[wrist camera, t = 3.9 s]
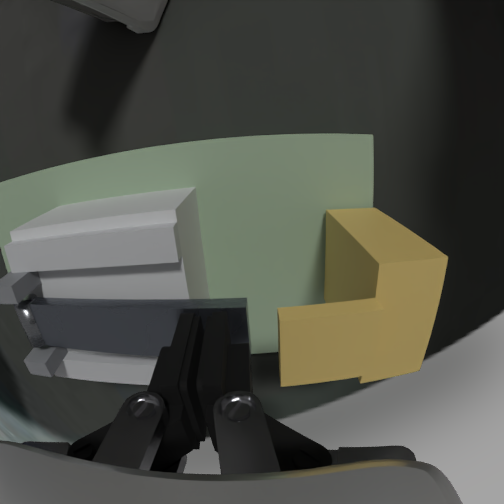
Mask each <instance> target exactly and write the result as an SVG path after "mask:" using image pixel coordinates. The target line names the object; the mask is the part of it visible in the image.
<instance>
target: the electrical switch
mask: <svg viewBox="0 0 504 504" xmlns="http://www.w3.org/2000/svg"><path fill="white" fill-rule="evenodd" d="M51 1H54V2H57V3H59V4H62V5H65V6H68V7H70V8H73V9H75V10H78V11H81V12H83V13H86V14H88V15H90V16H93V17H95V18H98V19H100V20H102V21H105V22H115V21H116V22H122V23H124V24H126V25H127V28H128V29H130V30H132V31H134V32H136V33H148V32H152V31H154V30H155V29H156V27H157V26H158V23H159V21H160V18H161V16H162V13H163V11H164V8H165V6H166V4H167V1H168V0H51Z"/></svg>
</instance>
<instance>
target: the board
mask: <svg viewBox="0 0 504 504" xmlns="http://www.w3.org/2000/svg"><path fill="white" fill-rule="evenodd" d="M373 177H374V159H373V135H367V134H283V135H262V136H246V137H233V138H221V139H211V140H201V141H192V142H184V143H176V144H169V145H162V146H155V147H149V148H143V149H137V150H131V151H125V152H120V153H114V154H109V155H104V156H99V157H95V158H90V159H85V160H81V161H77V162H72V163H68V164H64V165H60V166H56V167H52V168H48V169H45V170H41V171H37V172H34V173H30V174H27V175H23V176H20V177H17V178H13V179H10V180H7V181H4V182H1V183H0V247H1V251H2V254H3V258H4V261H5V265H6V268H7V271H8V274H7V275H5V276H4V277H3V278H1V279H0V304H19V303H20V302H21V301H22V300H23V299H24V298H25V297H26V296H27V295H28V294H36V296H37V297H45V298H74V299H218V298H247V302H248V314H249V325H250V336H251V354H257V353H271V352H278V316H277V308H281V307H293V306H304V305H315V304H325V303H326V302H325V300H324V283H325V248H326V210H332V209H355V208H373ZM157 359H158V357H157V356H141V355H127V354H115V353H105V352H95V351H86V350H78V349H70V348H63V347H56V346H49V345H45V346H42V347H39V348H35V347H34V348H33V349H32V351H31V352H30V353H29V354H28V356H27V357H26V358H25V360H24V362H25V364H26V366H27V367H28V369H29V371H30V373H31V374H36V375H41V376H47V377H52V376H53V375H54V373H55V375H56V376H59V377H66V378H74V379H82V380H91V381H100V382H111V383H124V384H140V385H149V384H150V381H151V378H152V374H153V371H154V368H155V365H156V362H157Z"/></svg>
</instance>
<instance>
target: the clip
mask: <svg viewBox="0 0 504 504" xmlns="http://www.w3.org/2000/svg"><path fill="white" fill-rule="evenodd" d="M447 261H448V257H447V256H446V255H445V254H443V253H442V252H441V251H439V250H438V249H436V248H435V247H434V246H432V245H431V244H429V243H428V242H426V241H425V240H424V239H422V238H421V237H419V236H418V235H416V234H415V233H413V232H412V231H410V230H409V229H407V228H406V227H404V226H403V225H401V224H400V223H398V222H397V221H395V220H394V219H392V218H390V217H389V216H387V215H386V214H384V213H383V212H381V211H379V210H378V209H376V208H355V209H332V210H326V248H325V283H324V300H325V302H326V303H325V304H315V305H304V306H293V307H281V308H277V316H278V352H279V376H280V384H281V387H284V386H294V385H303V384H312V383H320V382H327V381H334V380H341V379H347V378H354V377H358V379H359V381H360V383H365V382H370V381H375V380H380V379H385V378H390V377H394V376H399V375H403V374H408V373H411V372H416V371H419V370H420V368H421V365H422V362H423V359H424V355H425V352H426V349H427V346H428V342H429V339H430V336H431V332H432V328H433V325H434V321H435V317H436V313H437V309H438V305H439V301H440V296H441V292H442V287H443V282H444V277H445V272H446V267H447Z"/></svg>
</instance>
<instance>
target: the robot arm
mask: <svg viewBox="0 0 504 504" xmlns="http://www.w3.org/2000/svg"><path fill="white" fill-rule="evenodd" d="M206 426H207V427H208V430H209V434H210V437H211V440H212V443H213V446H214V449H215V451H216V452H218V454H219V461H220V469H221V475H217V474H216V475H215V474H214V475H213V474H212V475H211V474H184V473H183V471H184V468H185V464H186V460H187V456H186V454H188V453H189V452H191V451H192V450H193V449H199V446H200V441H205V437H206ZM0 504H462V502H461V500H460V498H459V496H458V494H457V493H456V491H455V489H454V487H453V486H452V484H451V483H450V481H449V480H448V478H447V477H446V476H445V475H444V474H443V473H442V472H441V471H440V470H439V469H438V468H436V467H435V466H433V465H431V464H427V463H424V462H419V461H416V458H415V455H414V453H413V452H412V451H411V450H410V449H408V448H406V447H404V446H381V447H339V449H338V450H327V449H326V448H325V447H323V446H322V445H320V444H318V443H316V442H314V441H313V440H311V439H309V438H307V437H305V436H303V435H301V434H300V433H298V432H296V431H294V430H292V429H291V428H289V427H287V426H285V425H284V424H282V423H280V422H279V421H277V420H275V419H273V418H272V417H270V416H268V415H267V414H265V413H264V411H263V408H262V404H261V402H260V400H259V398H258V397H256V396H255V395H254V394H253V389H252V370H251V358H250V348H249V343H239V344H231V337H230V330H229V322H228V315H227V311H218V312H213V313H212V316H207V321H206V326H205V332H204V330H203V324H202V319H201V316H196V314H195V313H182V314H180V317H179V320H178V323H177V326H176V330H175V333H174V336H173V339H172V343H171V346H163V347H162V348H161V350H160V353H159V356H158V359H157V362H156V365H155V368H154V371H153V374H152V378H151V381H150V384H149V387H148V390H147V391H143V392H138V393H136V394H133V395H131V396H130V397H129V398H127V399H126V400H125V402H124V403H123V405H122V407H121V408H120V410H119V412H118V414H117V416H116V417H115V419H114V421H113V422H111V423H110V424H108V425H106V426H104V427H102V428H100V429H98V430H96V431H94V432H93V433H91V434H89V435H87V436H85V437H83V438H81V439H79V440H77V441H76V442H74V443H73V444H72V445H70V444H69V443H68V442H33V441H28V442H23V443H16V442H10V441H0Z"/></svg>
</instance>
